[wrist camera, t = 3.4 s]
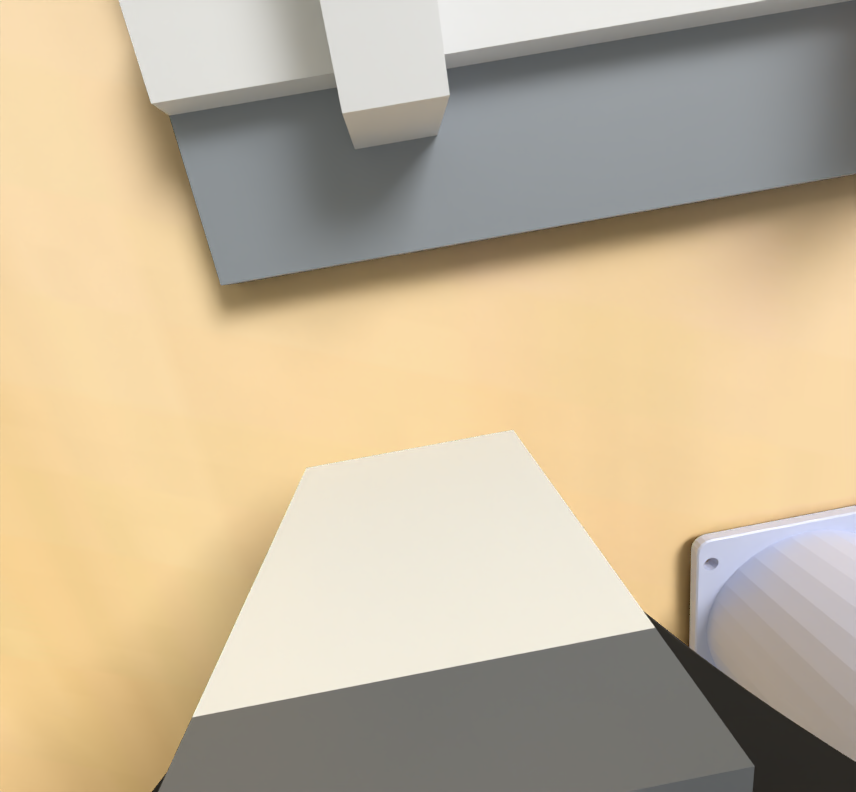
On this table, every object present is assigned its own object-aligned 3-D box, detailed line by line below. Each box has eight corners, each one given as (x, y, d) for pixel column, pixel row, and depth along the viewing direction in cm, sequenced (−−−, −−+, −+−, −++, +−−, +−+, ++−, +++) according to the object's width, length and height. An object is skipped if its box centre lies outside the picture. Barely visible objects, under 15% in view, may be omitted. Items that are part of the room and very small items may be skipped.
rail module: (538, 644, 11) (724, 1140, 5) (365, 678, 11) (322, 1226, 5) (513, 429, 9) (755, 766, 3) (306, 467, 9) (110, 896, 3)
